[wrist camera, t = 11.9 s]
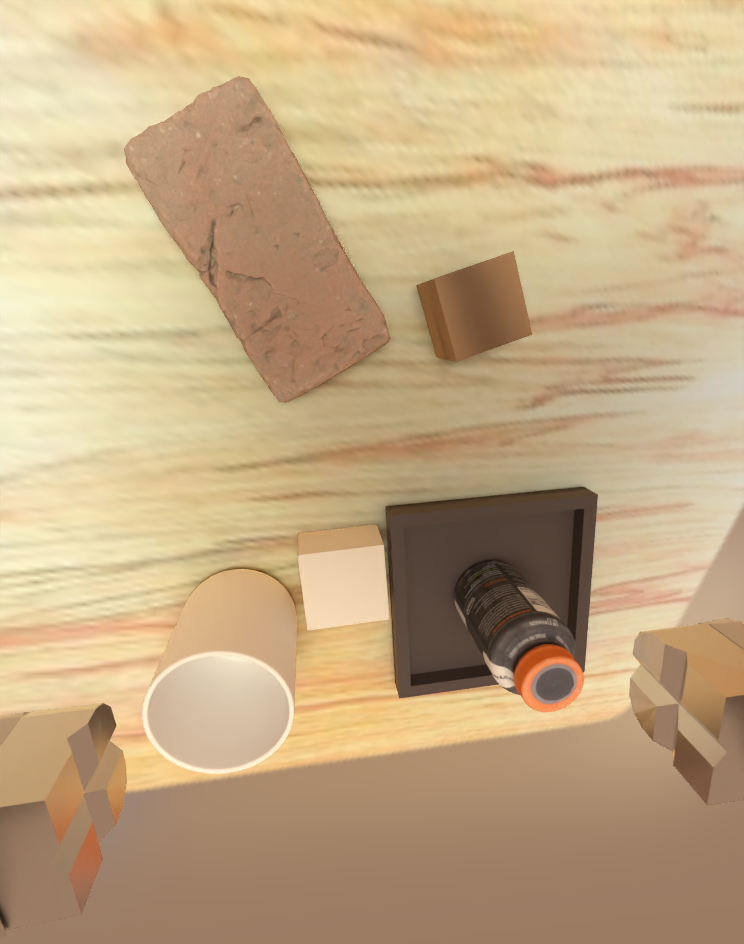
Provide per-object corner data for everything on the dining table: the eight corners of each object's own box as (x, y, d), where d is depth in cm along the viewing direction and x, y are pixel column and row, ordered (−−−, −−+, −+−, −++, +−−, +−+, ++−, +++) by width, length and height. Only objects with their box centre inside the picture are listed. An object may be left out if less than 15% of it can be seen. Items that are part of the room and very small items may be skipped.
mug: (136, 654, 39) (75, 771, 29) (231, 543, 37) (202, 624, 27) (226, 707, 41) (200, 832, 31) (319, 604, 40) (324, 700, 30)
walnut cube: (484, 261, 34) (513, 251, 29) (501, 333, 36) (531, 334, 31) (416, 285, 34) (434, 278, 29) (436, 356, 36) (456, 361, 31)
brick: (135, 167, 30) (105, 140, 26) (251, 92, 30) (242, 52, 26) (285, 400, 35) (282, 411, 31) (387, 338, 35) (399, 340, 31)
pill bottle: (454, 628, 41) (506, 735, 31) (450, 564, 40) (504, 653, 29) (523, 617, 42) (599, 718, 31) (523, 553, 40) (602, 636, 29)
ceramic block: (376, 523, 39) (383, 544, 35) (381, 591, 40) (389, 619, 37) (298, 532, 38) (297, 555, 34) (307, 601, 40) (307, 630, 36)
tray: (583, 486, 40) (597, 494, 38) (572, 657, 44) (584, 672, 43) (385, 506, 38) (389, 516, 36) (395, 681, 43) (399, 698, 41)
